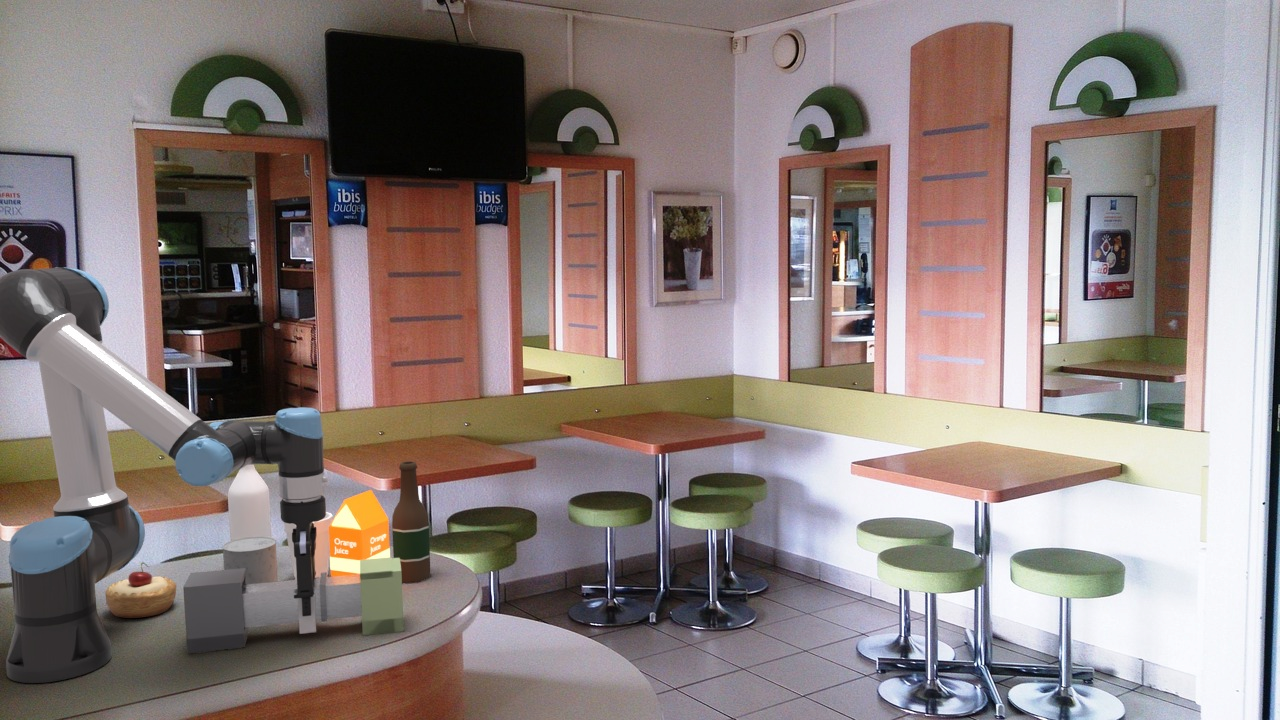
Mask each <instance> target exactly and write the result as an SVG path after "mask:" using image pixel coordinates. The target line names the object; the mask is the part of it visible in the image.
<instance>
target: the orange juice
mask: <svg viewBox="0 0 1280 720" xmlns="http://www.w3.org/2000/svg"><path fill="white" fill-rule="evenodd" d="M388 517H389V516H387V514H386V512H385V510H384V509H383V508H382V505H381V504H380V502H379V501H378V499H377V497H376V495H375V494H374V493H373V490H372V489H369V490H367V491H365V492H362V493H358V494H356V495H353V496H351V497H348V498H345V499H343V502H342V503H341V505H340V507H339V509H338V511H337V512H336V514H335V516H334V517H333V521H332V523H331V524H330V526H329V543H330V557H329V565H330V566H329V569H330V577H336V576H347V575H358V574H360V560H365V559H377V558H389V557H391V547H390V528H389V527H390V526H389V518H388Z"/></svg>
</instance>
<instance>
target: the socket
mask: <svg viewBox="0 0 1280 720" xmlns="http://www.w3.org/2000/svg"><path fill="white" fill-rule="evenodd" d="M360 583H361V606H362V616H361V622H362V623H361V625H362V636H369V635H370V634H372V635H378V634H379V635H380V634H381V635H382V634H389V633H390V634H391V633H398V632H399V633H400V632H404V631H405V629H404V605H403V602H404V600H403V582H402V574H401V564H400V558H393V557H392V556H390V557H389V558H377V559H365V560H360ZM370 636H371V635H370Z"/></svg>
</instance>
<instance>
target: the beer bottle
mask: <svg viewBox="0 0 1280 720" xmlns="http://www.w3.org/2000/svg"><path fill="white" fill-rule="evenodd" d="M398 468H399V470H400V489H399V491H400V493H399V494H400V495H399V500H398V503H397V504H396V506H395V508H394V510H393V513H392V519H391V520H392V521H391V522H392V523H391V526H392V529H391V531H392V553H393V556H392V558H400V564H401V574H402V584H403V583H404V584H413V583H421V582H423V581H425V580H428V579H430V578H431V552H430V551H431V550H430V549H431V548H430V547H431V546H430V524H429V517H428V513H427V510H426V506H424V504H423V503H422V501H421V500H420V496H419V489H418V488H419V487H418V480H417V479H418V477H417V469H418V465H417V462H416V461H412V460H407V461H406V460H405V461H403V462H400V463H399V466H398Z"/></svg>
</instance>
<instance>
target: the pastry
mask: <svg viewBox="0 0 1280 720" xmlns="http://www.w3.org/2000/svg"><path fill="white" fill-rule="evenodd" d="M143 565H145V566H146V567H147V568H148V569H149V568H150V567H149V566H148V564H146V562H144V561H143V562H141V563H140V568H141V571H133V572H131V573H129V575H128V576H127V577H128V578H126V579H121V580H119V581H117V582H113V583H112V584H110V585H108V587H107V588H106V590H105V591H104V593H105V601H106V605H107V607H108V609H109V610H110V612H111V613H112V614H113V615H114V616H116V617H117V618H118V617H119V618H122V619H123V618H124V619H125V618H126V619H138V618H139V619H140V618H146V617H147V618H148V617H151V616H155V615H160V614H163V613H165V612H167V611H168V610H169V609H170V608H171V607H172V604H173V603H174V601H175V599H176V595H177V584H176V582H175V581H174V580H172V579H171V578H167V577H166V576H160V575H159V576H157V575H156V576H152V574H151V573H150V572H147V571H144V570H143Z"/></svg>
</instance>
